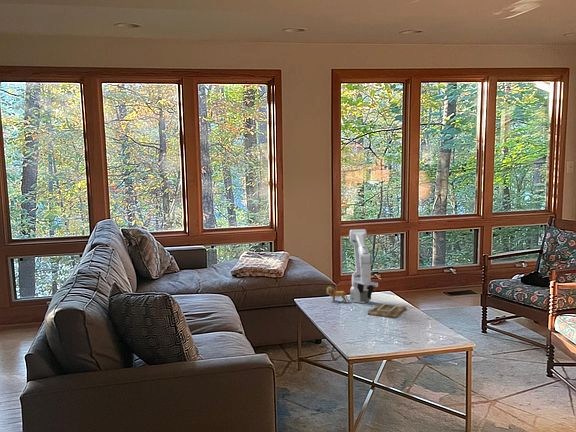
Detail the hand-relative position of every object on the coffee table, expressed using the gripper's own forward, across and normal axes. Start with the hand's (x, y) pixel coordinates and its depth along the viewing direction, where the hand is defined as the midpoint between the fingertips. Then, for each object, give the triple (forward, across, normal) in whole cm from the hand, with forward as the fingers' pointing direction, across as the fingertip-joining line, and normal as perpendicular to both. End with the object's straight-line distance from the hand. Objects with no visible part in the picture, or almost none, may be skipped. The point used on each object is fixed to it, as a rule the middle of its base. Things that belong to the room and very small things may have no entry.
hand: (365, 297), depth 331 cm
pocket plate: (+7, +13, 0) cm, 15 cm away
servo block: (+2, 0, 0) cm, 2 cm away
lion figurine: (+7, -22, +8) cm, 24 cm away
